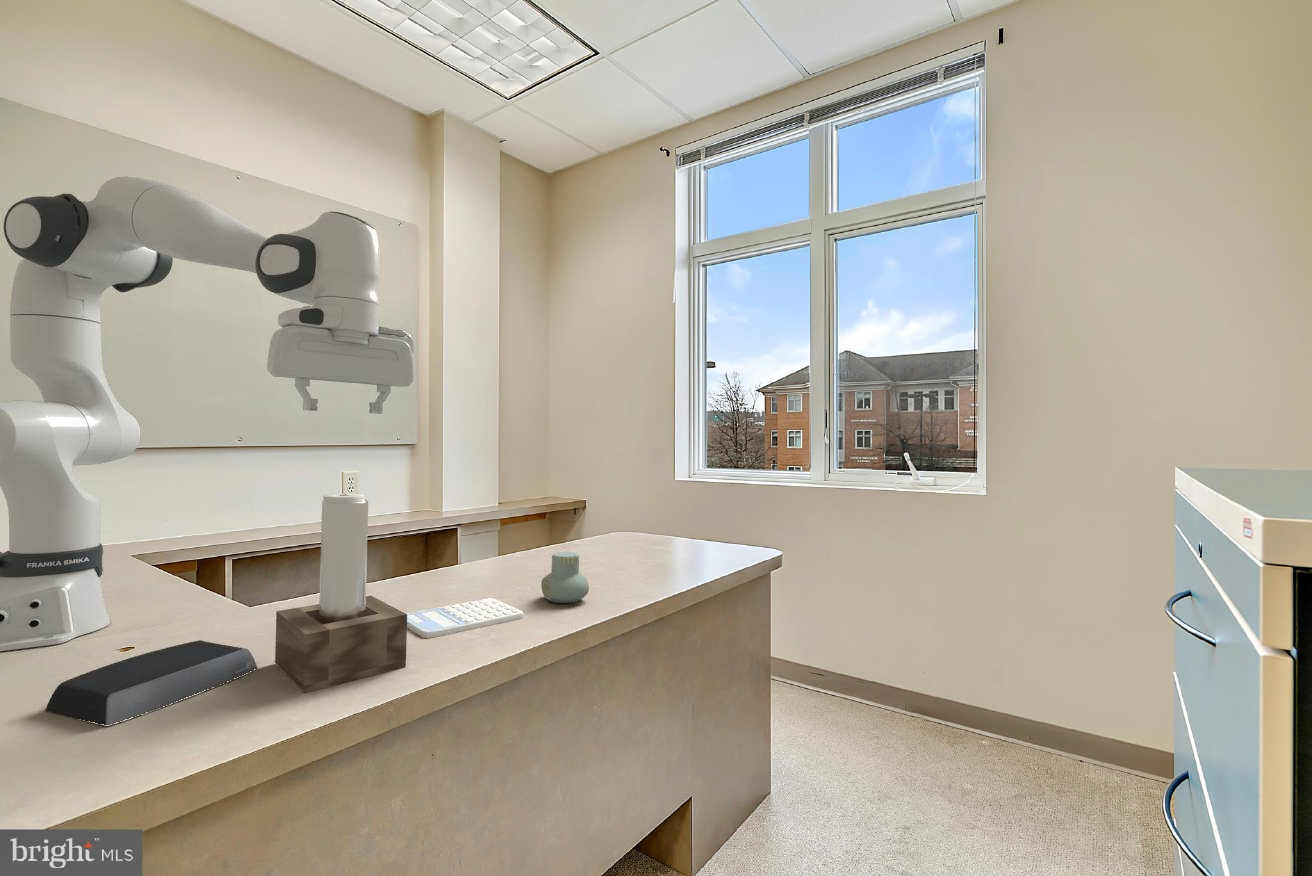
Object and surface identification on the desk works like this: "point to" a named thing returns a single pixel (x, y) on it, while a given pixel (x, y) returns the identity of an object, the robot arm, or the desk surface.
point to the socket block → (339, 645)
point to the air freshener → (565, 579)
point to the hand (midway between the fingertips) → (344, 412)
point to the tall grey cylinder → (343, 557)
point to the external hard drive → (149, 681)
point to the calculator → (461, 617)
